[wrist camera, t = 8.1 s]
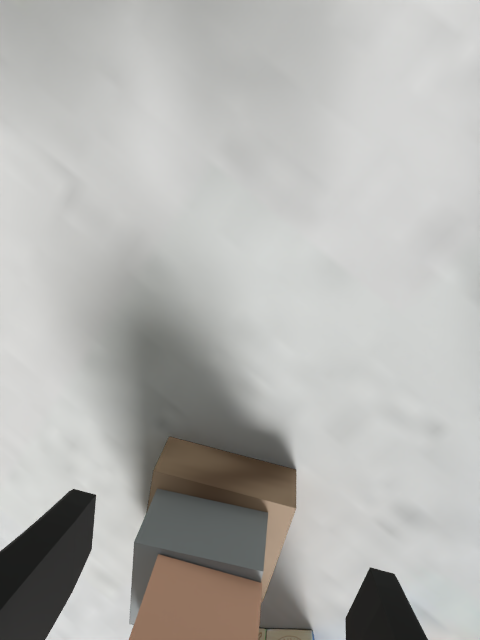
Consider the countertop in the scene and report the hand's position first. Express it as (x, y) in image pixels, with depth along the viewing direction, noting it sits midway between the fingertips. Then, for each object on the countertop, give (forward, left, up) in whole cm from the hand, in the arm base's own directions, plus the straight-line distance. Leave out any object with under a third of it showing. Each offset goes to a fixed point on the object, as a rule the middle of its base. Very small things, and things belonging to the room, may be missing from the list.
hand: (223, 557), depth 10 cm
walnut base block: (0, +9, -10) cm, 14 cm away
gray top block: (0, +9, -7) cm, 11 cm away
